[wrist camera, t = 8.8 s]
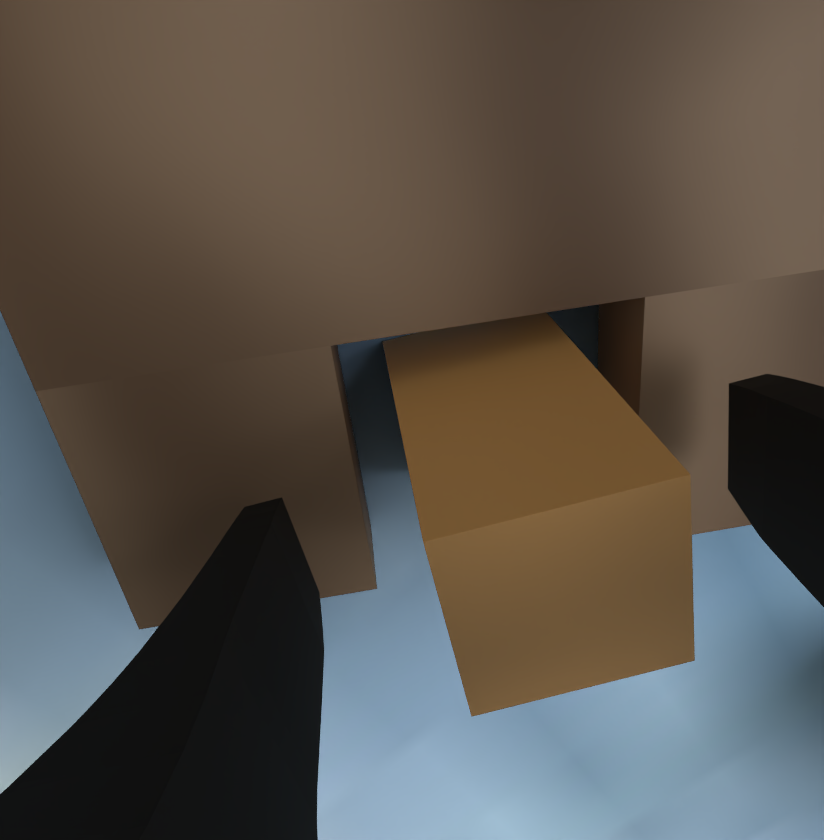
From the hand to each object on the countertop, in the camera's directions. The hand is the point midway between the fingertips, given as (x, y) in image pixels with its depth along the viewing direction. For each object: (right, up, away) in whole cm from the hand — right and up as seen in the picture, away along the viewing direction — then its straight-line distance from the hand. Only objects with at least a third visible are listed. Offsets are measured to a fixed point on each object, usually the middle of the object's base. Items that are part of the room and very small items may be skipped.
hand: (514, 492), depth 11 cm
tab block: (0, +2, +3) cm, 3 cm away
